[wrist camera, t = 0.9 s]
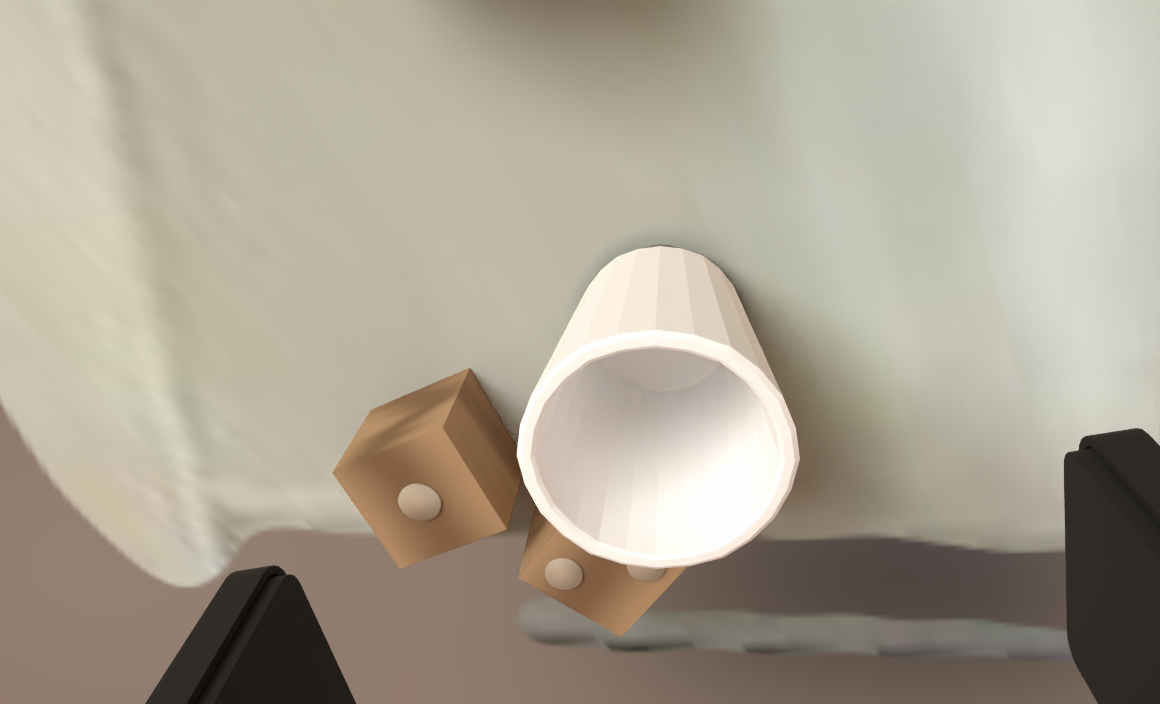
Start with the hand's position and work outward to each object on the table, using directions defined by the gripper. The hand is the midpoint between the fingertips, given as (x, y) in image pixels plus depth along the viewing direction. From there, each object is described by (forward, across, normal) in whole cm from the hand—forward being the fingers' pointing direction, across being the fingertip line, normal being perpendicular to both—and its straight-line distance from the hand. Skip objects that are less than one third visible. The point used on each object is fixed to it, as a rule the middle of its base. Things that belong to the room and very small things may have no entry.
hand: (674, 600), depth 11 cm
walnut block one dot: (+31, +14, +14) cm, 37 cm away
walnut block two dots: (+31, +6, +19) cm, 37 cm away
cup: (+31, +2, +9) cm, 33 cm away
